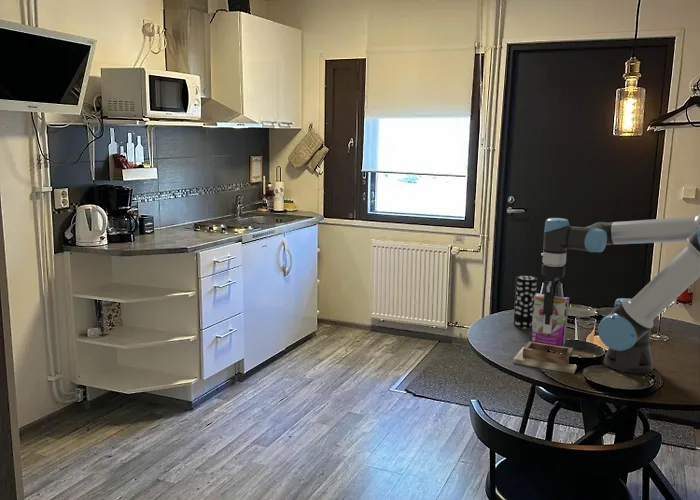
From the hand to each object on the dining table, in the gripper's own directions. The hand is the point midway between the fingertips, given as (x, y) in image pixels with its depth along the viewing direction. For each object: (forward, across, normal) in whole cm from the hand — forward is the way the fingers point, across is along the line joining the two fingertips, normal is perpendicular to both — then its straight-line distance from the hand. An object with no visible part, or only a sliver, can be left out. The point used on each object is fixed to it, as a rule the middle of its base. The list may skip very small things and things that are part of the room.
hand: (548, 330), depth 220 cm
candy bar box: (+5, 0, 0) cm, 5 cm away
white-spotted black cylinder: (+12, -38, -17) cm, 43 cm away
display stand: (+11, 0, 0) cm, 11 cm away
